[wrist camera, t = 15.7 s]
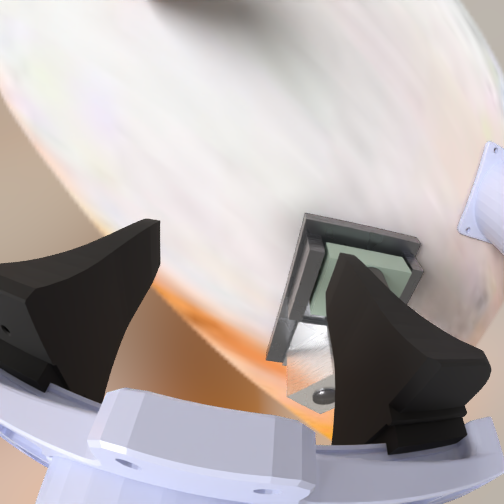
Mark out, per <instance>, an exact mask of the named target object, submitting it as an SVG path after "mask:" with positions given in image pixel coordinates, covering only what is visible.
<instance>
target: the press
mask: <svg viewBox="0 0 504 504" xmlns="http://www.w3.org/2000/svg"><path fill="white" fill-rule="evenodd" d="M326 242H328V243H333V244H339V245H344V246H349V247H354V248H359V249H364V250H369V251H374V252H379V253H384V254H389V255H394V256H399V257H403V259H404V261H405V262H406V264H407V266H408V267H409V269H410V271H411V272H412V274H411V276H410V278H409V280H408V282H407V284H406V286H405V288H404V290H403V292H402V294H401V296H400V298H399V299H401V300H402V301H403V302H404V303H405V304H406V305H407V303H408V301H409V299H410V298H411V296H412V294H413V292H414V290H415V288H416V286H417V284H418V282H419V280H420V278H421V276H422V274H423V272H424V270H423V269H422V267H421V266H420V264H419V263H418V261H417V260H416V258H415V256H416V254H417V252H418V249H419V247H420V245H421V243H420V242H419V240H418V239H417V238H416V237H412V236H408V235H404V234H400V233H396V232H392V231H387V230H383V229H379V228H374V227H370V226H365V225H361V224H356V223H352V222H347V221H342V220H338V219H333V218H328V217H323V216H318V215H313V214H308V213H305V214H304V218H303V222H302V226H301V230H300V234H299V238H298V242H297V246H296V250H295V253H294V257H293V261H292V265H291V268H290V272H289V276H288V279H287V283H286V287H285V290H284V294H283V297H282V301H281V304H280V308H279V311H278V315H277V318H276V322H275V325H274V329H273V332H272V335H271V339H270V342H269V345H268V349H267V352H266V360H268V361H275V362H282V365H284V366H287V350H289V349H291V348H292V347H294V346H296V345H297V344H299V343H301V342H302V341H304V340H306V339H307V338H309V337H310V336H312V335H314V334H315V333H317V332H318V331H320V330H322V329H323V328H325V327H326V326H327V327H328V322H327V316H320V315H313V314H310V304H309V299H310V296H311V293H312V290H313V288H314V285H315V282H316V279H317V276H318V273H319V270H320V267H321V264H322V261H323V257H324V254H325V250H324V248H325V245H326Z"/></svg>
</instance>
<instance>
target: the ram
mask: <svg viewBox="0 0 504 504" xmlns="http://www.w3.org/2000/svg"><path fill="white" fill-rule="evenodd" d="M324 250H325V254H324V257H323V261H322V264H321V267H320V270H319V273H318V276H317V279H316V282H315V285H314V288H313V290H312V293H311V296H310V299H309V304H310V314H313V315H320V316H326V296H325V292H326V290H327V287H328V284H329V282H330V279H331V276H332V273H333V271H334V268H335V265H336V262H337V259H338V256H339V254H340V252H341V253H346V254H352V255H355V256H356V257H357V258H358V259H360V260H361V261H362V262H363V263H364V264H365V265H366V266H367V267H368V268H369V269H370V270H371V271H372V272H373V273H374V274H375V275H376V276H377V277H378V278H379V279H380V280H381V281H382V282H383V283H384V284H385V285H386V286H387V287H388V288H389V289H390V290H391V291H392V292H393V293H394V294H395V295H396V296H397V297H398V298H400V296H401V294H402V292H403V290H404V288H405V286H406V284H407V282H408V280H409V278H410V276H411V274H412V272H411V271H410V269H409V267H408V266H407V264H406V262H405V261H404V259H403V257H399V256H394V255H389V254H384V253H379V252H374V251H369V250H364V249H359V248H354V247H349V246H344V245H339V244H333V243H328V242H326V245H325V248H324Z"/></svg>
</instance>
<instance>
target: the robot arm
mask: <svg viewBox="0 0 504 504" xmlns="http://www.w3.org/2000/svg"><path fill="white" fill-rule="evenodd" d="M494 148H495V152H494ZM467 228H468V229H467ZM466 229H467V230H466ZM457 230H458V232H459V233H461V234H463V235H466V236H469V237H473V238H476V239H479V240H482V241H485V242H488V243H491V244H493V245H494V246H495V247H496V248H497V249H498V250H499V251H500V252H501V253H502V254H503V255H504V149H503V148H502V147H500V146H499V145H497V144H495V143H493V142H491V141H488V142H487V143H486V145H485V148H484V152H483V155H482V159H481V162H480V166H479V169H478V172H477V175H476V178H475V181H474V184H473V187H472V190H471V193H470V196H469V198H468V201H467V204H466V206H465V209H464V212H463V214H462V217H461V219H460V222H459V224H458V227H457ZM159 266H160V221H158V220H152V219H143V220H140V221H138V222H136V223H133V224H131V225H129V226H127V227H125V228H122V229H120V230H118V231H116V232H114V233H112V234H110V235H107V236H105V237H103V238H100V239H98V240H96V241H93V242H91V243H89V244H87V245H84V246H81V247H78V248H75V249H73V250H69V251H66V252H63V253H59V254H55V255H52V256H47V257H43V258H39V259H34V260H28V261H21V262H13V263H1V264H0V437H2V438H3V439H5V440H6V441H7V442H9V443H10V444H11V445H13V446H14V447H16V448H17V449H18V450H20V451H21V452H23V453H24V454H26V455H28V456H29V457H31V458H32V459H34V460H35V461H37V462H39V463H40V464H42V465H44V466H45V467H47V468H48V470H47V473H46V475H45V477H44V480H43V483H42V486H41V489H40V491H39V494H38V497H37V500H36V503H35V504H443V503H446V502H449V501H451V500H455V499H457V498H460V497H462V496H464V495H466V494H468V493H470V492H472V491H474V490H476V489H478V488H479V487H481V486H483V485H485V484H487V483H488V482H490V481H492V480H493V479H495V478H497V477H499V476H500V475H502V474H503V473H504V457H503V453H502V450H501V446H500V443H499V439H498V436H497V433H496V430H495V427H494V424H493V421H492V418H491V417H485V418H481V419H476V420H473V421H470V422H468V423H466V424H464V422H463V418H462V417H464V416H465V415H466V414H467V411H466V408H465V404H467V403H468V402H469V401H470V400H471V399H472V398H473V397H474V396H475V394H477V392H479V390H481V388H482V387H483V386H484V385H485V384H486V382H487V380H488V379H489V377H490V373H491V366H490V364H489V362H488V359H487V357H486V355H485V354H484V352H483V351H482V350H480V349H478V348H476V347H474V346H471V345H469V344H467V343H465V342H463V341H461V340H459V339H457V338H455V337H453V336H451V335H450V334H448V333H446V332H444V331H443V330H441V329H439V328H438V327H436V326H435V325H433V324H432V323H430V322H429V321H427V320H426V319H424V318H423V317H422V316H420V315H419V314H418V313H416V312H415V311H414V310H413V309H411V308H410V307H409V306H408V305H406V304H405V303H404V302H403V301H402V300H401V299H399V298H398V297H397V296H396V295H395V294H394V293H393V292H392V291H391V290H390V289H389V288H388V287H387V286H386V285H385V284H384V283H383V282H382V281H381V280H380V279H379V278H378V277H377V276H376V275H375V274H374V273H373V272H372V271H371V270H370V269H369V268H368V267H367V266H366V265H365V264H364V263H363V262H362V261H361V260H360V259H358V258H357V257H356V256H355V255H352V254H346V253H341V252H340V254H339V256H338V259H337V262H336V265H335V268H334V271H333V273H332V276H331V279H330V282H329V284H328V287H327V290H326V292H325V296H326V316H327V322H328V328H329V334H330V340H331V346H332V352H333V358H334V367H335V410H334V425H333V436H332V445H316V438H315V432H314V431H313V430H311V429H310V428H308V427H307V426H305V425H304V424H302V423H301V422H299V421H298V420H293V419H289V418H284V417H280V416H275V415H268V414H259V413H252V412H245V411H238V410H232V409H226V408H220V407H215V406H209V405H204V404H199V403H195V402H190V401H185V400H181V399H177V398H173V397H168V396H164V395H161V394H156V393H153V392H149V391H144V390H137V389H131V388H121V389H118V390H114V391H111V392H107V394H106V396H105V398H104V395H105V390H106V387H107V383H108V380H109V376H110V373H111V369H112V366H113V363H114V360H115V358H116V355H117V352H118V349H119V346H120V343H121V341H122V339H123V336H124V334H125V331H126V329H127V327H128V325H129V323H130V321H131V319H132V318H133V316H134V314H135V312H136V311H137V309H138V307H139V305H140V304H141V302H142V300H143V298H144V297H145V295H146V293H147V291H148V290H149V288H150V286H151V285H152V283H153V280H154V278H155V276H156V273H157V271H158V268H159ZM103 399H104V400H103Z"/></svg>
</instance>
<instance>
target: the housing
mask: <svg viewBox="0 0 504 504" xmlns="http://www.w3.org/2000/svg"><path fill="white" fill-rule="evenodd" d="M287 397H288V398H290V399H292V400H294V401H296V402H298V403H300V404H301V405H303V406H305V407H307V408H309V409H311V410H313V411H315V412H317V413H319V414H322V413H324V412H326V411H329V410H331V409H333V408H335V367H334V358H333V352H332V346H331V340H330V334H329V328H328V327H327V326H326V327H325V328H323V329H322V330H320V331H318V332H317V333H315V334H314V335H312V336H310V337H309V338H307V339H306V340H304V341H302V342H301V343H299V344H297V345H296V346H294V347H292V348H291V349H289V350H287Z"/></svg>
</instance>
